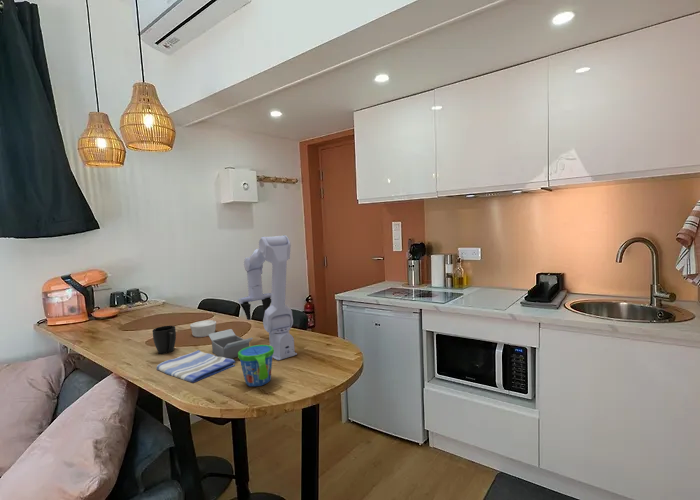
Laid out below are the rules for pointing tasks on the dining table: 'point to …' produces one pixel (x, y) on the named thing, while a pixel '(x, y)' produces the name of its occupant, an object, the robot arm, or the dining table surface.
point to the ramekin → (203, 328)
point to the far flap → (221, 335)
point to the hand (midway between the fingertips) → (257, 317)
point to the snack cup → (256, 364)
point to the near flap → (238, 343)
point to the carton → (228, 352)
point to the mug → (164, 339)
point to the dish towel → (195, 366)
